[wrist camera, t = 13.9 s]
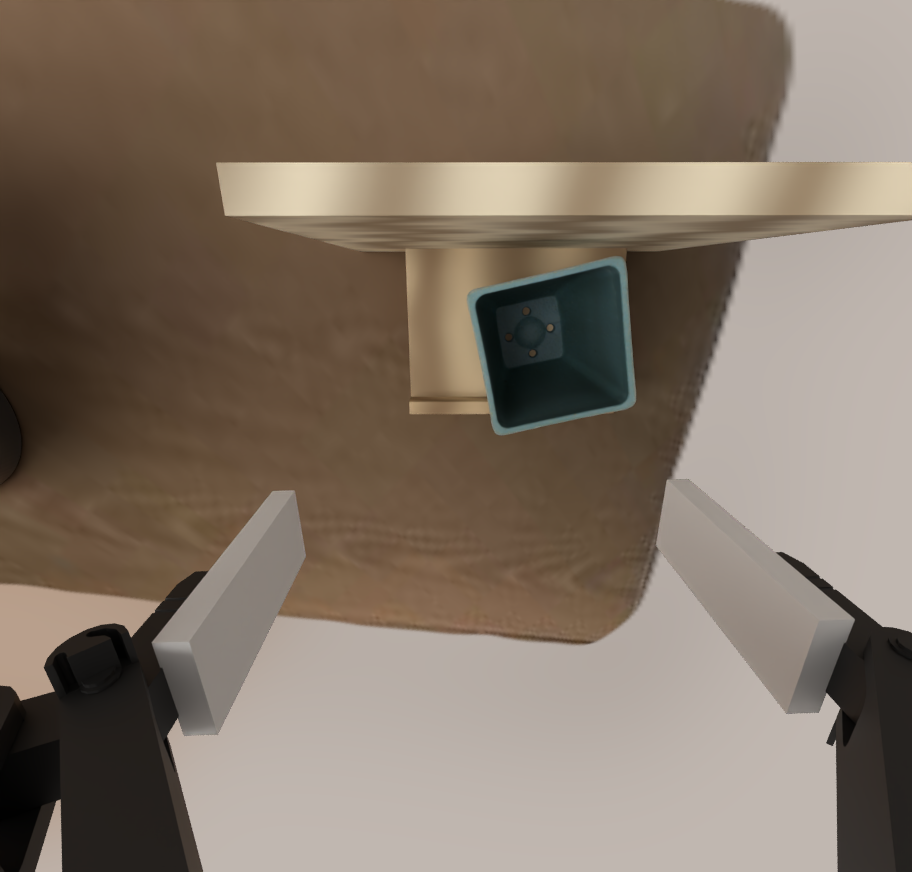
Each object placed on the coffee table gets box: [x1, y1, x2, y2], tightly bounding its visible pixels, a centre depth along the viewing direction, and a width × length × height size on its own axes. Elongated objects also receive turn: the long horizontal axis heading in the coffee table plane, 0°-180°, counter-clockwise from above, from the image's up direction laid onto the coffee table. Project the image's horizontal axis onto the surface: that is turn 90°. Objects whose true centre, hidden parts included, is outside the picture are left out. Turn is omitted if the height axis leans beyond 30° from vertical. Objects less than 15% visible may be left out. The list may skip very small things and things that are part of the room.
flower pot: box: [467, 256, 636, 435], centre depth 29 cm, size 9×9×9 cm
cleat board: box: [216, 162, 912, 414], centre depth 26 cm, size 24×14×22 cm, turn 90°
